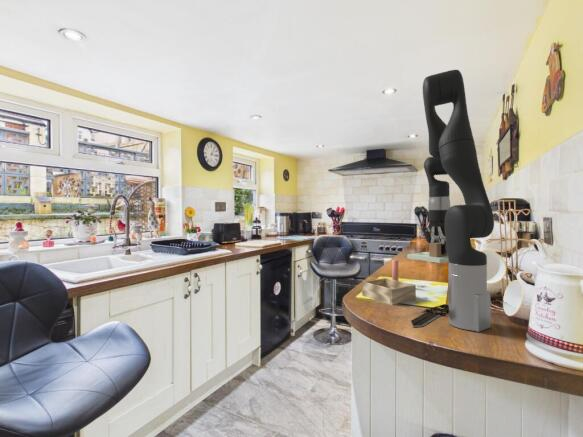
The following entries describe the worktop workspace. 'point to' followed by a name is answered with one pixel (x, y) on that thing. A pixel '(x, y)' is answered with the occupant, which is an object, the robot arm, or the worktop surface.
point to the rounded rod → (395, 270)
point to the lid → (431, 254)
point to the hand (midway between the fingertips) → (439, 253)
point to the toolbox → (389, 290)
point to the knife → (430, 315)
